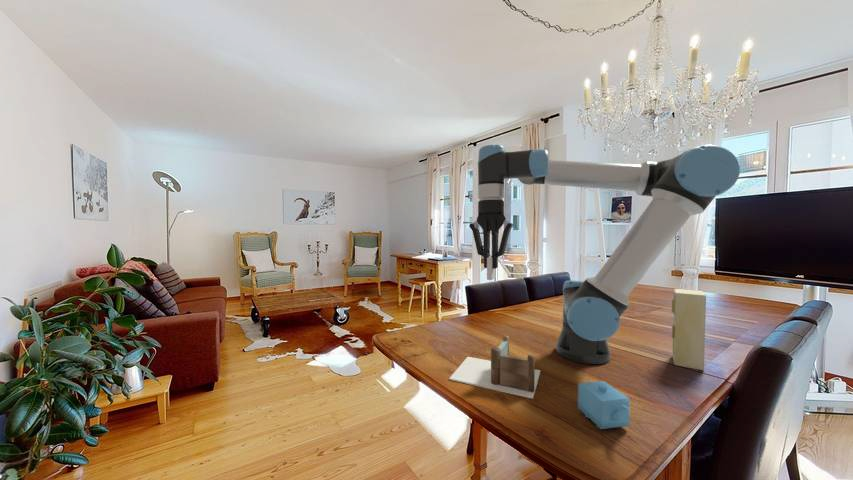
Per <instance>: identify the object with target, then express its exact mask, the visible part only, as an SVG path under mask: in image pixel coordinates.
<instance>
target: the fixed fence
mask: <svg viewBox="0 0 853 480" xmlns="http://www.w3.org/2000/svg"><path fill="white" fill-rule="evenodd" d="M535 360H536V356H535V355H533V354H528V355H527V358H525V357H521V356H515V355H510V354H509V355H504V354H501V349H499V348H498V347H492V348H491V349H490V361H491V383H492V384H494V385H498V384H501V385H505V386H510V387H515V388H519V389H524V390H528V391H531V392H534V382H535V367H536V366H535V365H536V364H535V363H536V361H535Z"/></svg>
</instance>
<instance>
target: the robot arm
mask: <svg viewBox="0 0 853 480" xmlns="http://www.w3.org/2000/svg"><path fill="white" fill-rule="evenodd" d="M478 150H479V151H478V159H477V160H478V161H477V170H478V172H477V173H478V174H477V175H478V177H477V179H478V180H477V181H478V185H477V186H478V187H477V198H478V199H479V201H477V213H478V215H477V217H476V220H475V221H473V223H470V224H469V228H470V230H471V231H472V235H473V238H474V239H473V240H474V242H475V248H476V252H477V255H478V256H481V257H482V258H483V267H484V269H486V280H487V281H493V280H494V279H496V276H495V273H496V272H495V269H498V267H499V266H498V265H499V260H498V259H499V257H502V256H504V255H505V252H506V248H507V244H508V240H509V236H510V231H511V230H512V228H513V227H514V223H512V222H509V221H508V220H507V219H506V217H505V201H504V200H503V199H504V198H505V180H506V179H507V180H508V179H510V180H511V179H518V181H519V182H521V184H524V185H549V186H562V187H563V186H564V187H575V188H586V189H589V188H590V189H598V190H599V189H602V190H612V191H613V190H614V191H626V192H627V191H628V192H635V193H636V195H638V196H644V197H651V198H652V200H650V203H649V204H648V205H647V206H646V208H645V209H644V211H643V212H642V213H641V215H640V216H639V217H638V219H637V220H636V221H635V223H634V224H633V226H632V227H631V228H630V229H629V231H628V233H627V234H626V235H625V236H624V238H623V239H622V240H621V242H620V243H619V244H618V246H617V247H616V248H615V250H614V251H613V252H612V254H611V255H610V257H609V258H608V259H607V261H606V262H605V263H604V264H603V266H602V267H601V269H600V270H599V271H598V272H597V274H596V275H595V276H593V277H586V278H585V280H565V281H564V282H563V286H562V294H563V295H562V327H561V331H560V334H559V335H558V338H557V341H556V345H555V346H556V349H555V350H556V352H557V354H558V355H559V356H561V358H564V359H567V360H569V361H572V362H577V363H580V364H588V365H601V364H608V362H610V361H611V349H610V346H609V342H608V339H610V338H611V337H613V336H614V335H616V333H617V331H618V330H619V328H620V321H621V316H622V315H623V314H624V312H625V311H626V310H627V309H628V307H629V306H630V302H629V295H630V294H631V293H632V291H633V290H634V289H635V287H636V286H637V285H638V284H639V282H640V281H641V280H642V278H643V277H644V276H645V275H646V273H647V272H648V271H649V270H650V268H651V267H652V266H653V264H654V263H656V261H657V260H658V258H659V257H660V255H661V254H662V253H663V252H664V250H665V249H666V248H667V247H668V245H669V244H670V243H671V242H672V241H673V239H674V237H675V236H676V235H677V234H678V232H679V231H680V230H681V229H682V228H683V226H684V225H685V224H686V222H687V221H688V219H690V217H691V216H695V215H700V214H703V213H704V211H706V210H707V208H708V206H709V205H710V204H711V203H712V201H714V199H715V198H716V197H717V196H720V195H722V194H725V193H726V192H727V191H729V190H730V189H731V188H732V187H733V186H735V184H736V183H737V181H738V179H739V176H740V173H741V165H740V163H739V161H738V158H737V157H736V155H735V154H734V153H733V152H731V151H730V150H729V149H727V148H725V147H723V146H720V145H714V144H705V145H699V146H695V147H691V148H688V149H687V150H685V151H683V152H682V153H681V154H679V155H677V156H675V157H673V158H670V159H666V160H659V161H658V160H657V161H647V160H646V161H644V162H642V163H641V164H634V163H633V164H632V163H613V162H612V163H610V162H593V161H575V160H574V161H573V160H571V161H570V160H556V159H555V160H553V159H550V160H549V151H548V150H547V149H536V148H534V149H528V150H519V151H506V150H505V146H503V145H501V144H487V145H484V146H482V147H480V149H478ZM479 227H480V228H481V229H482V235H483V242H482V236H481V233H480V229H479ZM502 227H503V231H502V236H501V239H500V244H499V233H500V232H499V231H500V230H501V228H502ZM490 238H491V239H490Z"/></svg>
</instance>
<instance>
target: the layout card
mask: <svg viewBox="0 0 853 480" xmlns="http://www.w3.org/2000/svg"><path fill="white" fill-rule="evenodd" d="M540 375H541V370H540V369H535V382H534V392H531V391H528V390H524V389H519V388H515V387H510V386H505V385H501V384H498V385H494V384H492V383H491V360H488V359H482V358H477V357H471V356H467V357H466V358H465V359H464V361H462V363H461V364H460V365H459V366H458V367H457V369H456V370H455V371H454V372H453V373H452V374H451V375H450V377H449V379H448V380H449V381H454V382H458V383H462V384H466V385H471V386H476V387H479V388H483V389H488V390H493V391H496V392H502V393H506V394H510V395H515V396H518V397H519V396H520V397H523V398H528V399H533V400H534V397H535V394H536V389H537V386H538V382H539V378H540Z"/></svg>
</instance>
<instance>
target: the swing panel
mask: <svg viewBox="0 0 853 480" xmlns="http://www.w3.org/2000/svg"><path fill="white" fill-rule="evenodd" d="M497 348H499V349H501V354H504V355H509V356H510V336H509V335H503V338H502V341H501V343H499V346H498V347H497Z"/></svg>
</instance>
